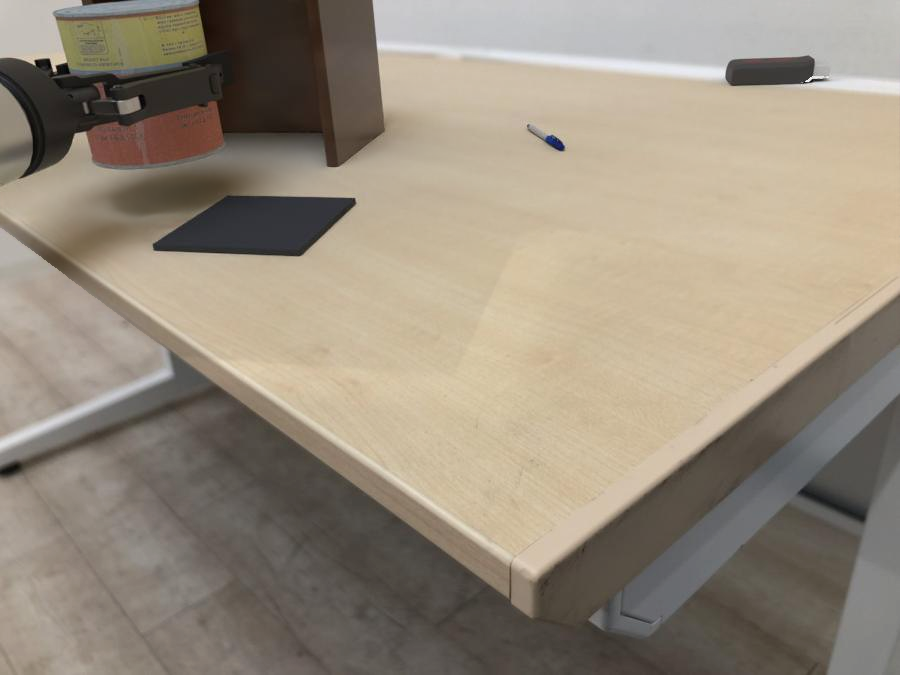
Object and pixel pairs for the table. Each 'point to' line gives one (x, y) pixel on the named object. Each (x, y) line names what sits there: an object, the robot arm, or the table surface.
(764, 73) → the usb drive
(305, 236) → the mat
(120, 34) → the canned food
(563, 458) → the table surface
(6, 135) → the robot arm
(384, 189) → the table surface
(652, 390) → the table surface
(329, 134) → the cubby
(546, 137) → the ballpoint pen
